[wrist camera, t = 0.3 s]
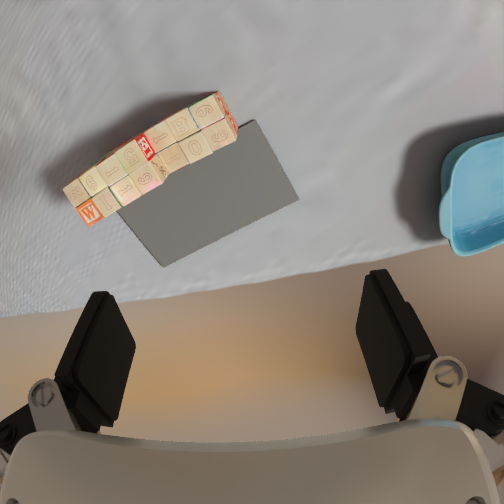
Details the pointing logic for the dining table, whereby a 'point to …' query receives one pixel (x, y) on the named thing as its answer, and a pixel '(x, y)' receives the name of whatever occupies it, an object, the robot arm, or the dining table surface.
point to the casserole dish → (473, 195)
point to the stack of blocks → (152, 157)
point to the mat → (211, 198)
